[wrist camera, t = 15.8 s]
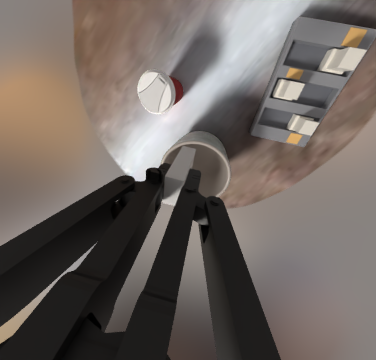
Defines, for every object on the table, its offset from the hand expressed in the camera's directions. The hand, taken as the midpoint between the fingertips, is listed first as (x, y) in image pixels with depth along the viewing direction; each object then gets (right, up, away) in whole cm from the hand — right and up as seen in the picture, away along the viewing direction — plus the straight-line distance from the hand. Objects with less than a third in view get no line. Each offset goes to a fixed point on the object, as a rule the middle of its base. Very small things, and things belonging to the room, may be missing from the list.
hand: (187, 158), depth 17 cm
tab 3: (+30, +22, +13) cm, 39 cm away
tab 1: (+22, +18, +17) cm, 34 cm away
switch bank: (+26, +18, +18) cm, 37 cm away
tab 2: (+28, +12, +20) cm, 36 cm away
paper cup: (-4, +21, +23) cm, 32 cm away
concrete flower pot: (+4, +7, +31) cm, 32 cm away
